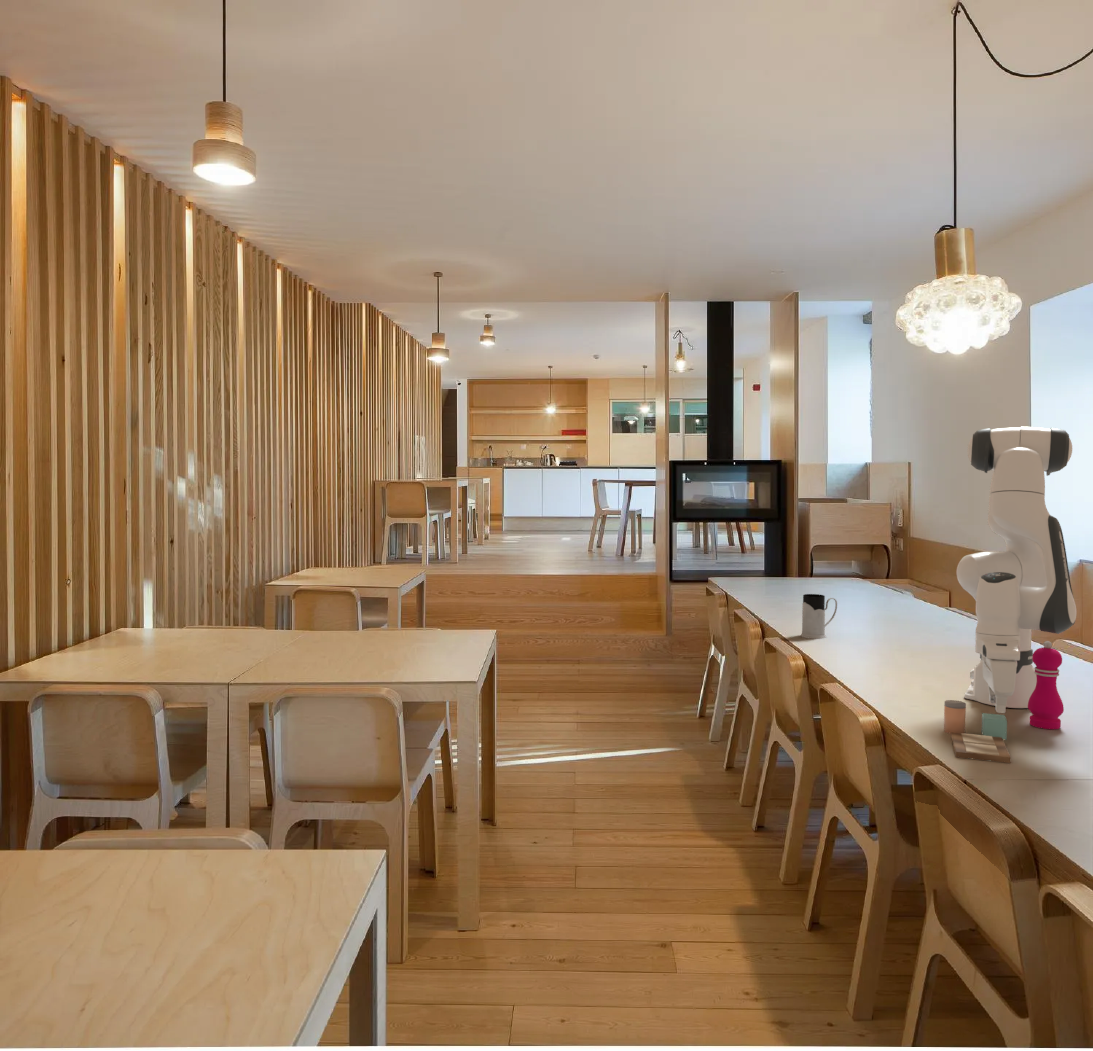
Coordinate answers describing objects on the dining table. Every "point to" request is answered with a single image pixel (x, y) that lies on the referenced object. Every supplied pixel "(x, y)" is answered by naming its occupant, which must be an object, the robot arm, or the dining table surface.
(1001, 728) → the teal block
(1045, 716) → the pepper mill
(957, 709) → the peach upright cylinder
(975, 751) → the board
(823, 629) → the glass holder
